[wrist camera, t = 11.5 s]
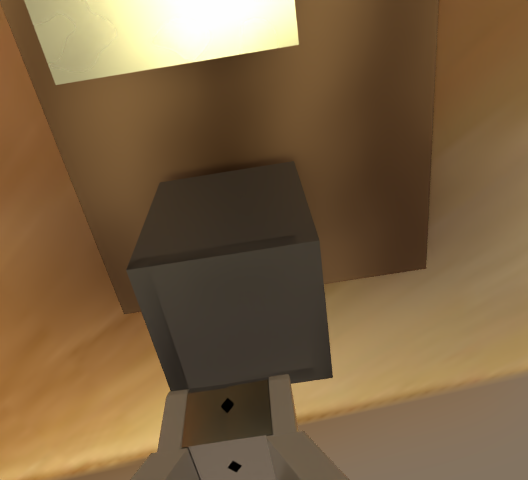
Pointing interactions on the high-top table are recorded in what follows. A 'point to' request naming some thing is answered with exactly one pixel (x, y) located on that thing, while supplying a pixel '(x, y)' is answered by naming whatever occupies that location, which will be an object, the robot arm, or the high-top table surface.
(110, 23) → the pale green block
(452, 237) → the high-top table surface
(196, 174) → the walnut board
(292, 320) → the dark grey paneled cube
